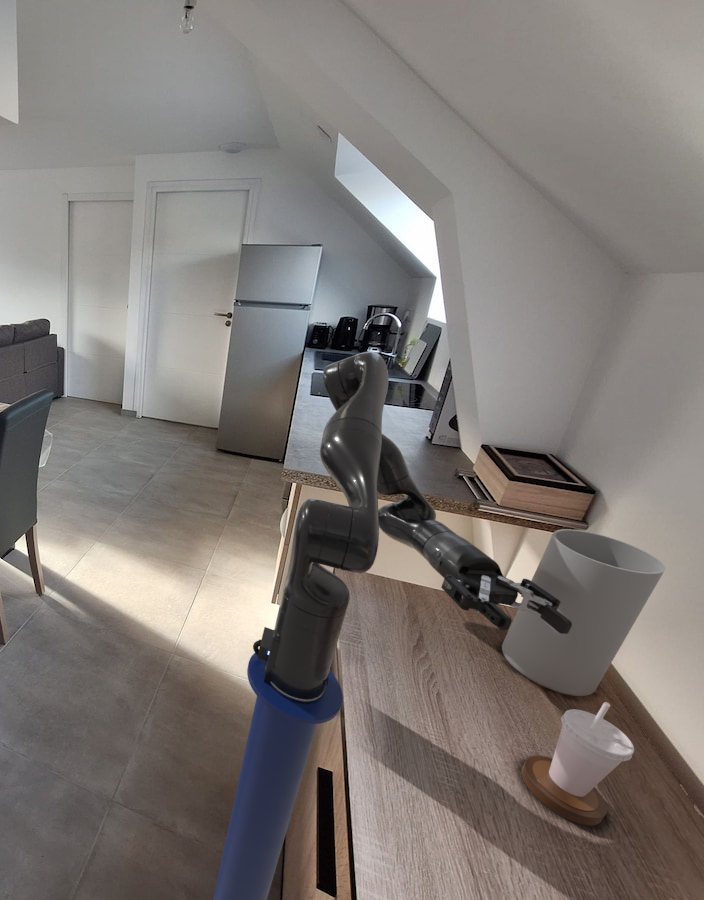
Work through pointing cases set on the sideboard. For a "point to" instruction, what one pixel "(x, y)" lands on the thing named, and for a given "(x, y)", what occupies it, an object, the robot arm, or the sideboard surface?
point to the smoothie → (587, 751)
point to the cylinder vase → (582, 610)
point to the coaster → (562, 794)
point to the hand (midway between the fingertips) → (537, 627)
